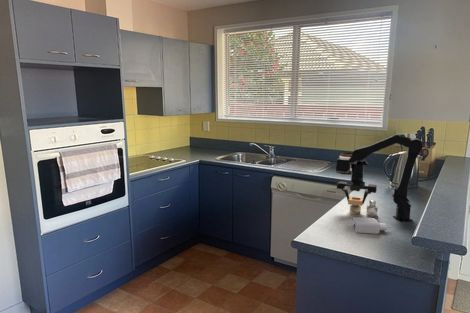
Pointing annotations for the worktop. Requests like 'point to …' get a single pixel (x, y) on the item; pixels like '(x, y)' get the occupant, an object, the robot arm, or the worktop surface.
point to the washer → (355, 201)
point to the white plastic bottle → (368, 225)
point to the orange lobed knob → (372, 209)
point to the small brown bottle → (355, 209)
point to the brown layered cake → (346, 156)
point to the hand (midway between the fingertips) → (355, 203)
